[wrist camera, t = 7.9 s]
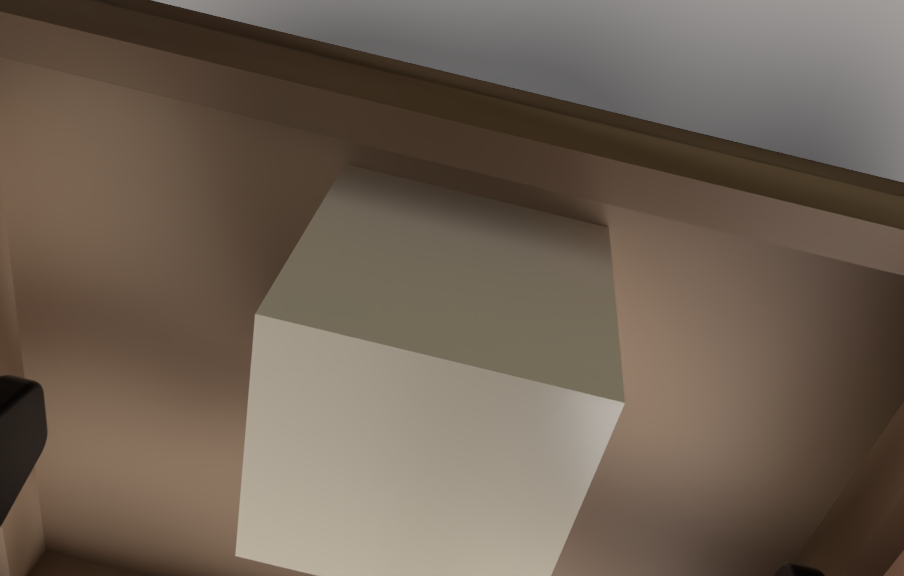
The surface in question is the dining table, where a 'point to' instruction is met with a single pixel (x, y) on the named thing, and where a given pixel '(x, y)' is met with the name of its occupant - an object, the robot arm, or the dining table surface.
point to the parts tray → (457, 168)
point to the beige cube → (428, 386)
